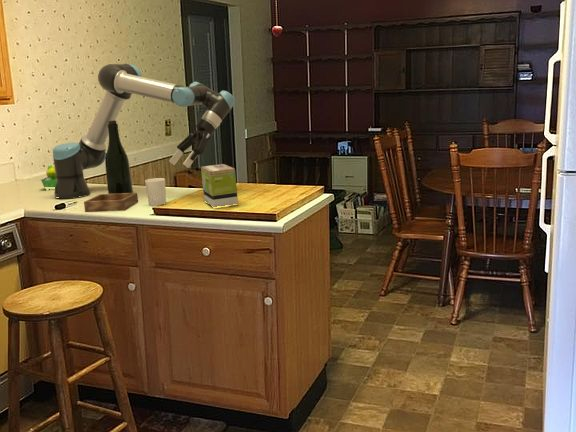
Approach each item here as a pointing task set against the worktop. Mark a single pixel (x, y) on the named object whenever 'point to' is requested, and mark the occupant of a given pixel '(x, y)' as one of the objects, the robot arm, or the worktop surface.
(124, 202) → the walnut box
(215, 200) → the tea box
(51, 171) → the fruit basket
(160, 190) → the white cup
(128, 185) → the wine bottle
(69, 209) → the worktop surface
